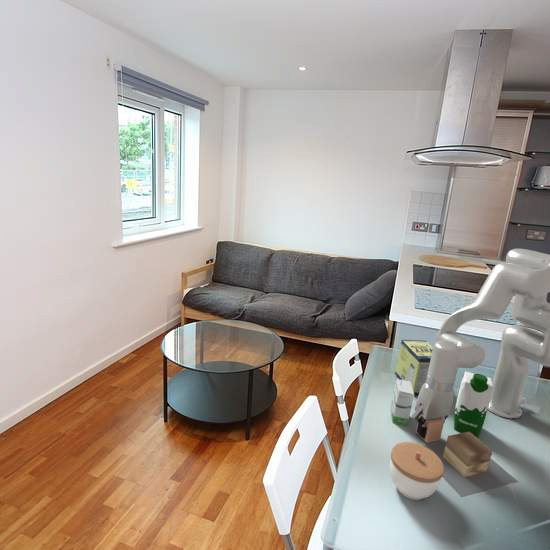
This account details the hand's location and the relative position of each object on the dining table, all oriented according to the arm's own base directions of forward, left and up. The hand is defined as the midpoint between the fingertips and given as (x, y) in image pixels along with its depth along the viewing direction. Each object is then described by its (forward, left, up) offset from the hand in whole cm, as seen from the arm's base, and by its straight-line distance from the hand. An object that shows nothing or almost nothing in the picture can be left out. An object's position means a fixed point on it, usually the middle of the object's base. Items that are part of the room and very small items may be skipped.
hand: (428, 433), depth 118 cm
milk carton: (-17, -1, -2) cm, 17 cm away
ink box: (+2, -11, -2) cm, 11 cm away
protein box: (-18, -27, -2) cm, 32 cm away
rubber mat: (-3, +12, -2) cm, 12 cm away
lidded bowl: (+18, +15, -2) cm, 24 cm away
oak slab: (-3, +12, -1) cm, 12 cm away
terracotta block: (0, 0, -1) cm, 1 cm away
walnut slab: (-3, +12, +2) cm, 13 cm away
